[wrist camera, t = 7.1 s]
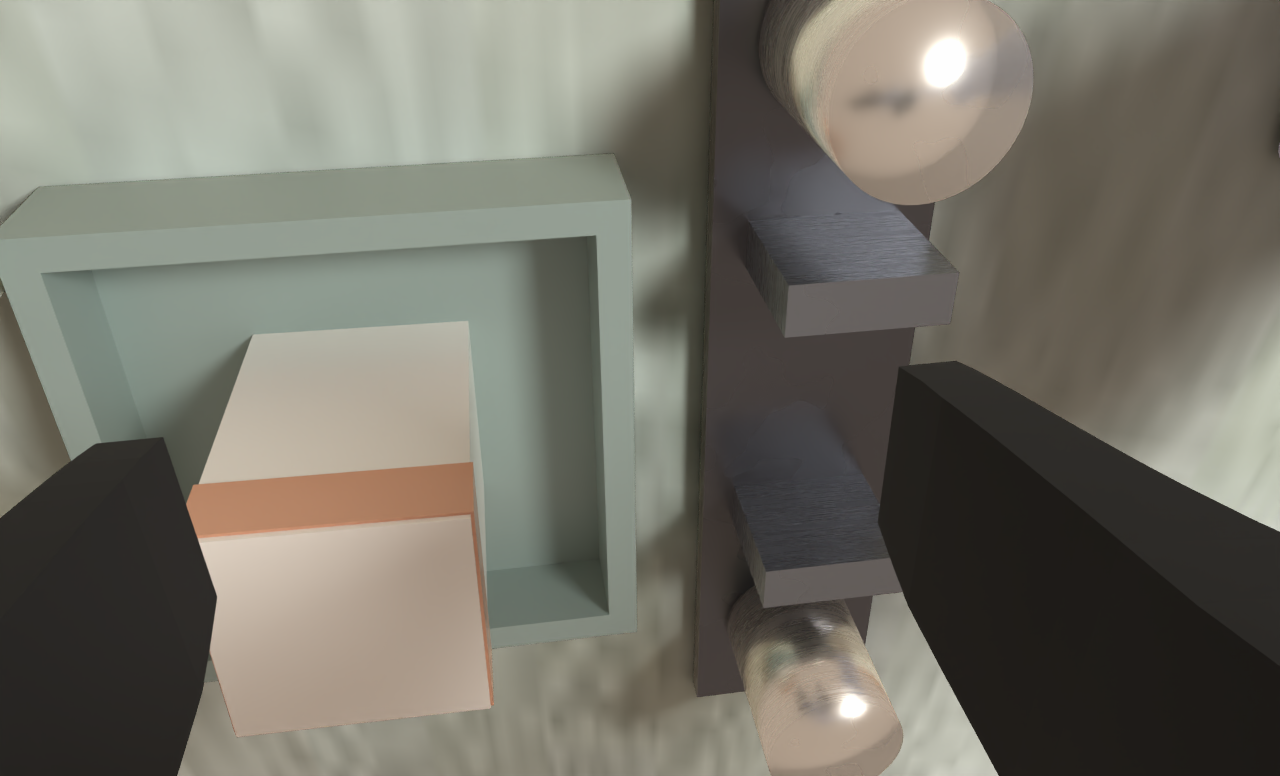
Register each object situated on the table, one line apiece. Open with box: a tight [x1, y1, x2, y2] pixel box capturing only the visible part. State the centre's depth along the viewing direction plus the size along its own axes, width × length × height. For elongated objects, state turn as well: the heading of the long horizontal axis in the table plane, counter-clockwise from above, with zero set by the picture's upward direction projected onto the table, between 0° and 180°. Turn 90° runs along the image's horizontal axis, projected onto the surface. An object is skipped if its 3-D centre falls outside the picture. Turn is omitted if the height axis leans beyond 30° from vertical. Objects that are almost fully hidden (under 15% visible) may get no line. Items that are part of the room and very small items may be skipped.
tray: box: [0, 153, 637, 682], centre depth 20 cm, size 10×10×2 cm
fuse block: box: [693, 0, 1034, 776], centre depth 20 cm, size 4×19×4 cm, turn 1°
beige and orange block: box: [186, 321, 494, 737], centre depth 18 cm, size 4×4×6 cm
